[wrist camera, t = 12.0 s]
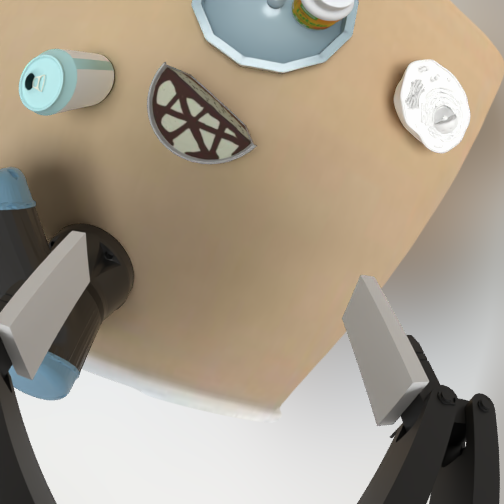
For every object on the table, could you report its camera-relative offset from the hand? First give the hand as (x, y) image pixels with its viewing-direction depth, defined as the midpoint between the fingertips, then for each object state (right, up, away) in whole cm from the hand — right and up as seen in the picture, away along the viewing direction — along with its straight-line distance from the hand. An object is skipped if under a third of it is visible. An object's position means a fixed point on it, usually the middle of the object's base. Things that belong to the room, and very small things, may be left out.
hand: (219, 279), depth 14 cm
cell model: (+23, +21, +20) cm, 37 cm away
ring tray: (+4, +30, +14) cm, 33 cm away
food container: (-5, +17, +21) cm, 28 cm away
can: (-19, +23, +18) cm, 34 cm away
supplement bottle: (+9, +29, +14) cm, 33 cm away
